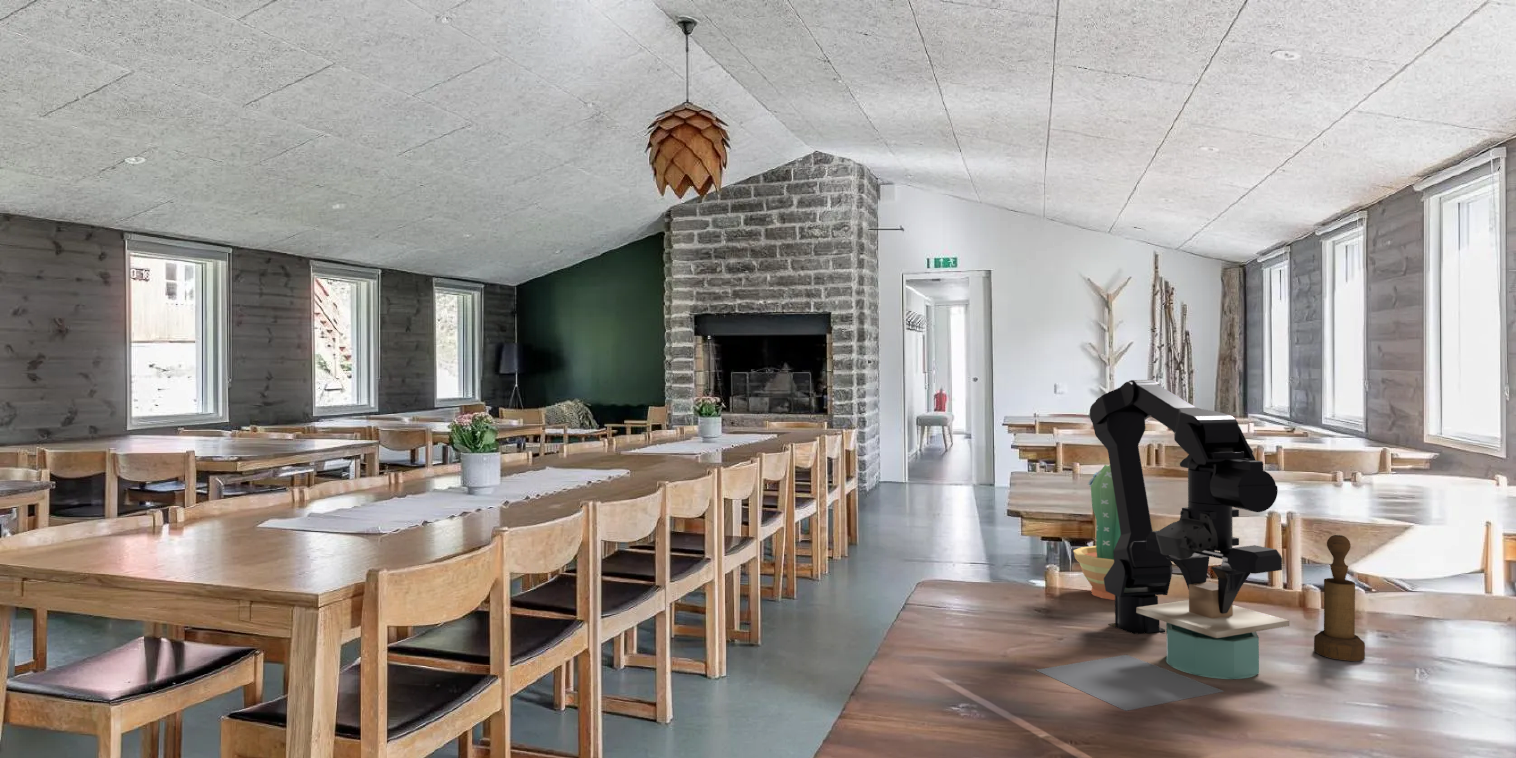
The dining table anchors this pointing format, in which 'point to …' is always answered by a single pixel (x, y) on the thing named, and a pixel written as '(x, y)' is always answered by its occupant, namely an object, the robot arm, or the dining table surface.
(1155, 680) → the mat
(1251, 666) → the bowl
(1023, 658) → the dining table surface
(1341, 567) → the brown wooden upright piece
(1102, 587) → the potted cactus
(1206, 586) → the lid
